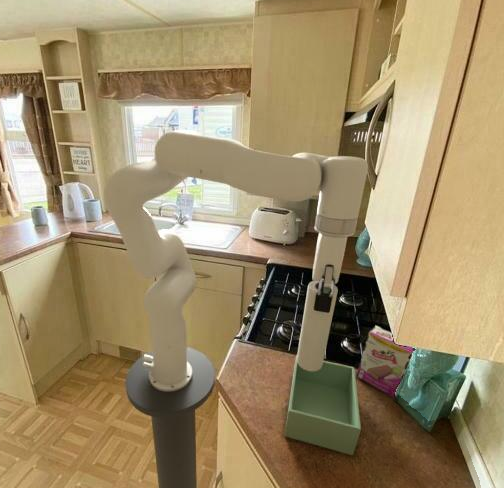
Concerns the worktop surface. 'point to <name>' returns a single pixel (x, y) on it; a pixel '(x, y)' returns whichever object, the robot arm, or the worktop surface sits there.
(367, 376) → the candy bar box
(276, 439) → the worktop surface
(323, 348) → the paper towel roll
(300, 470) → the worktop surface
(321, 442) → the bin
